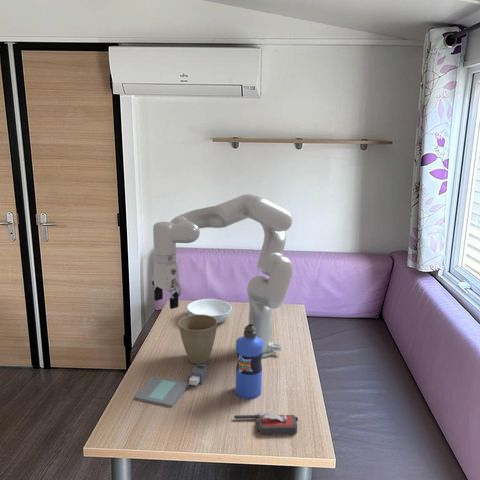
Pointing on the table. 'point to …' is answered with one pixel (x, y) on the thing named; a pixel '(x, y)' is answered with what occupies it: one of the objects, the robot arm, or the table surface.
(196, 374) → the usb plug
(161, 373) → the table surface
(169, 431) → the table surface
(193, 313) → the serving bowl
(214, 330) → the plant pot
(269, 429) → the walkie-talkie
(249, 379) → the water bottle
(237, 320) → the table surface
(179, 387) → the dock pad
